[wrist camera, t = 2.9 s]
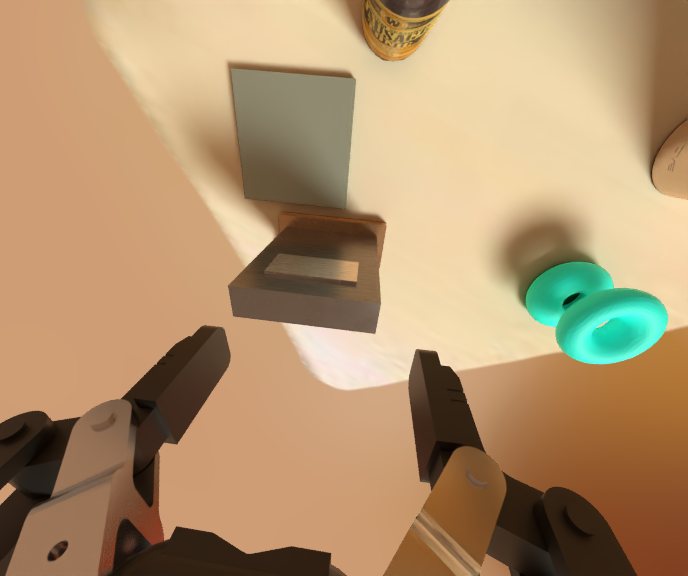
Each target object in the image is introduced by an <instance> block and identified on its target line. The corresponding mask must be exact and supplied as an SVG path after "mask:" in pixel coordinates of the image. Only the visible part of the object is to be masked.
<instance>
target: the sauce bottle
mask: <svg viewBox="0 0 688 576" xmlns="http://www.w3.org/2000/svg"><path fill="white" fill-rule="evenodd" d="M448 2H449V0H363V1H362V23H363V31H364V35H365V37H366V40H367V43H368V44H369V46H370V48H371V49H372V50H373V52H374V53H375V55H377V56H378V57H380V58H381V59H382V60H386V61H397V60H403V59H405V58H407V57H408V56H410V55H411V54H412V53H414V52H415V51H416V50H417V49H418V47H419V46H420V45H421V44H422V42H423V40H424V39H425V37H426V36H427V34H428V33H429V31H430V30H431V28H432V27H433V25H434V24H435V22H436V21H437V19H438V18H439V16H440V14H441V13H442V11H443V10H444V8H445V6H446V5H447V3H448Z"/></svg>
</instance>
